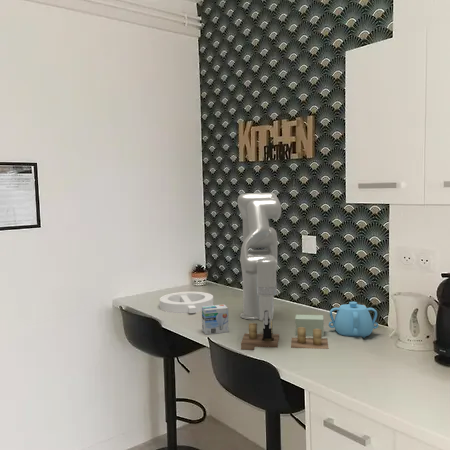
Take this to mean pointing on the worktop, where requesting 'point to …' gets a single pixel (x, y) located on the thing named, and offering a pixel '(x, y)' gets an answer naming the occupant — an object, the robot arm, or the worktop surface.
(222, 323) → the light bulb box
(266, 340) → the pin
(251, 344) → the build board
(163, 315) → the worktop surface
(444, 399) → the worktop surface
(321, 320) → the cover
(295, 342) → the board
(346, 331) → the decorative pot
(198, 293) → the ring with crossbar
